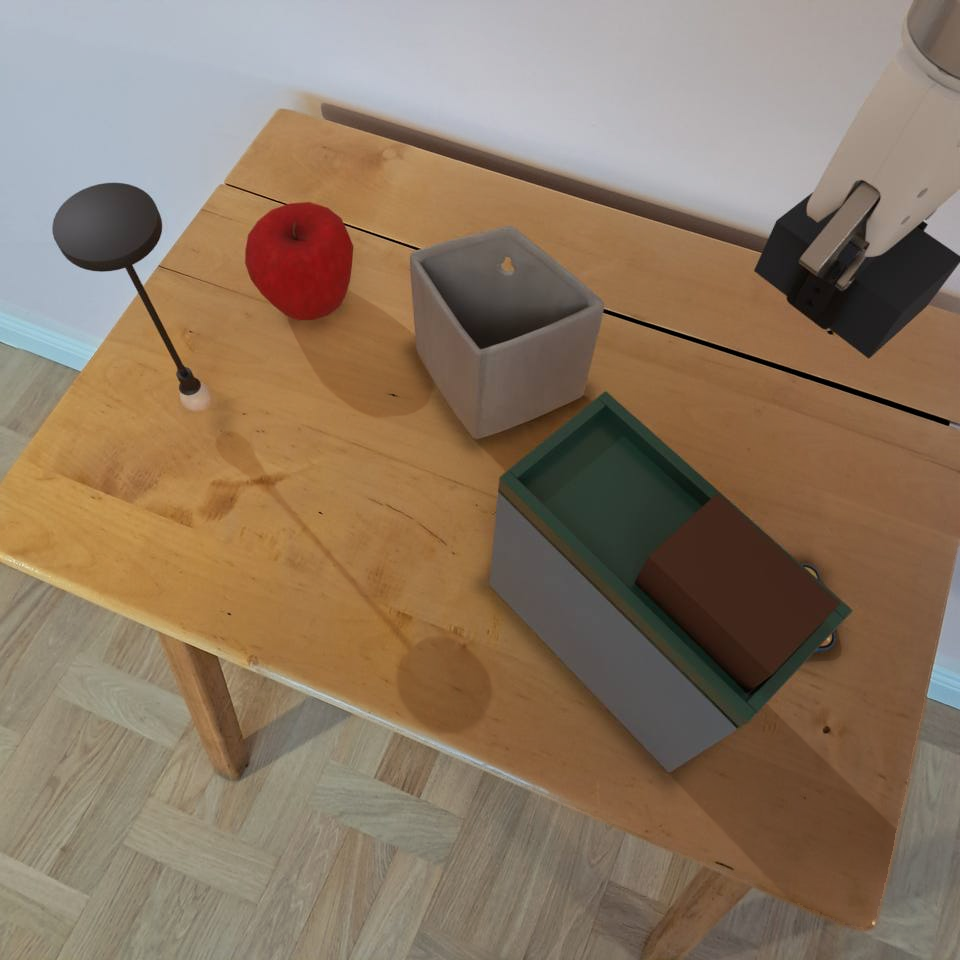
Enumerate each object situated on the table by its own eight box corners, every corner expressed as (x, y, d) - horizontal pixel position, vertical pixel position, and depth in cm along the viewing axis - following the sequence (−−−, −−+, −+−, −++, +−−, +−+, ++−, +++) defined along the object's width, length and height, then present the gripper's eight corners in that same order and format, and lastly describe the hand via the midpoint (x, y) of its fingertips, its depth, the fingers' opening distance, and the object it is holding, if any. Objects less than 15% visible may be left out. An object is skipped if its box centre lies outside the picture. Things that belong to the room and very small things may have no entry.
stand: (750, 688, 69) (839, 620, 53) (668, 773, 66) (737, 729, 50) (570, 514, 75) (601, 406, 59) (488, 584, 72) (497, 491, 56)
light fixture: (176, 457, 77) (59, 272, 54) (161, 396, 79) (45, 196, 57) (250, 436, 78) (166, 246, 55) (234, 376, 81) (148, 172, 58)
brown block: (698, 522, 55) (718, 491, 51) (811, 626, 52) (841, 602, 48) (633, 582, 53) (648, 555, 49) (746, 693, 50) (772, 674, 46)
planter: (389, 416, 79) (370, 277, 62) (418, 347, 83) (407, 197, 65) (562, 464, 77) (592, 336, 60) (584, 391, 81) (618, 250, 63)
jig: (839, 620, 53) (853, 610, 51) (737, 729, 50) (748, 722, 48) (601, 406, 59) (605, 390, 57) (497, 491, 56) (498, 476, 54)
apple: (316, 245, 88) (298, 163, 78) (382, 299, 85) (372, 220, 75) (239, 302, 84) (211, 223, 75) (305, 360, 82) (284, 285, 72)
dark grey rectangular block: (811, 224, 57) (838, 171, 53) (926, 306, 54) (963, 257, 50) (753, 271, 55) (776, 219, 51) (868, 359, 52) (902, 312, 48)
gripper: (1033, -97, 42) (875, 184, 58) (812, 58, 37) (705, 321, 53) (1177, -23, 40) (971, 249, 56) (964, 155, 34) (802, 400, 50)
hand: (843, 282), depth 54 cm, fingers closed on dark grey rectangular block, 6 cm apart
